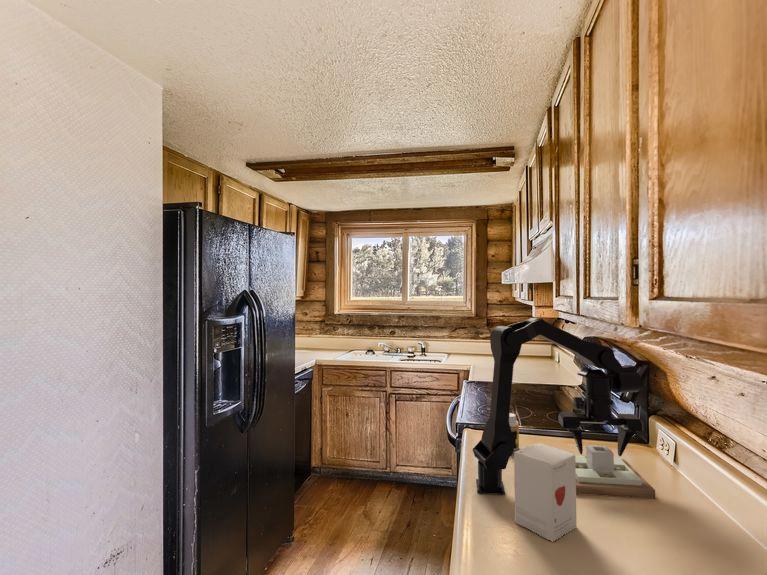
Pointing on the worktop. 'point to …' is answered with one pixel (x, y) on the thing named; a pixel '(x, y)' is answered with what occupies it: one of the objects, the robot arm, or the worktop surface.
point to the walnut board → (616, 487)
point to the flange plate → (603, 467)
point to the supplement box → (545, 490)
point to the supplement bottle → (514, 427)
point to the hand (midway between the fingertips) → (600, 454)
